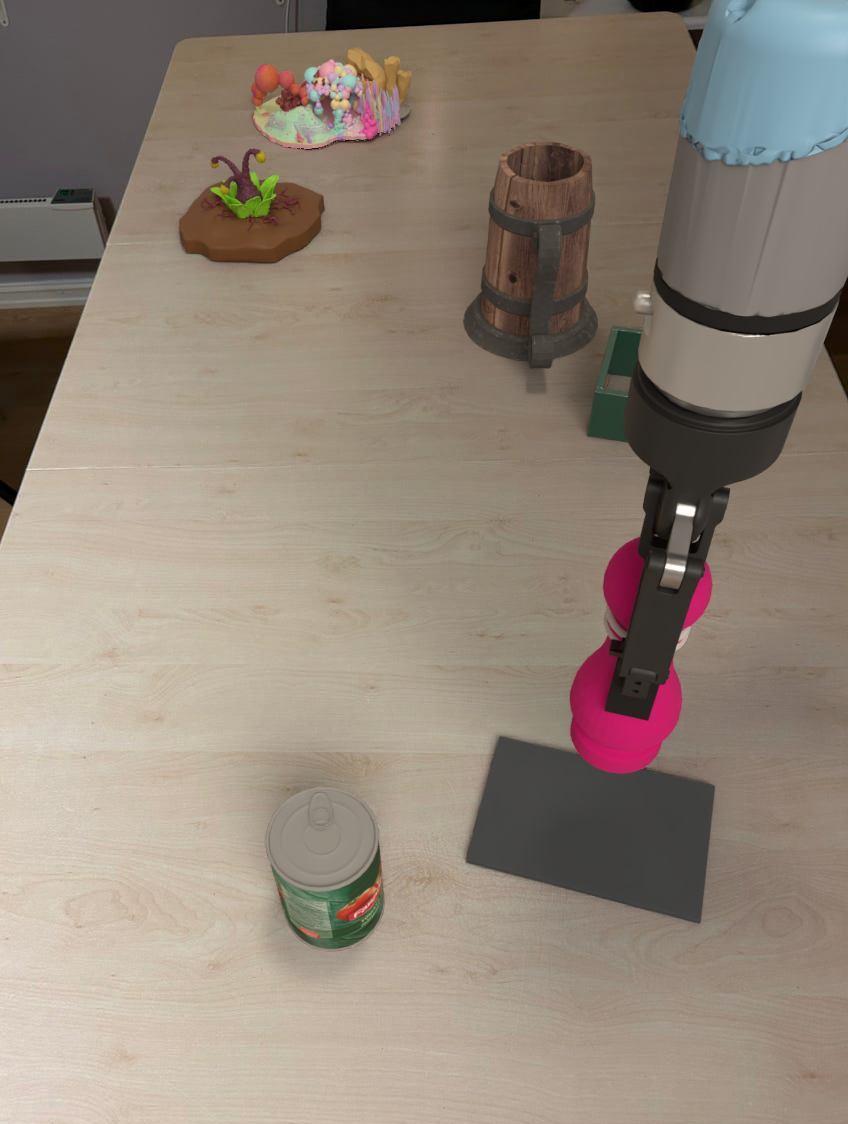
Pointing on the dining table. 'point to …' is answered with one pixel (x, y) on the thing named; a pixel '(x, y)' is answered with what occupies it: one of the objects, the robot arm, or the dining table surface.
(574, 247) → the tankard
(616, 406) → the holder
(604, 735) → the pepper mill
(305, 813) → the canned tomato
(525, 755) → the mat
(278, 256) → the plant
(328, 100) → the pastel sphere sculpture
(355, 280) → the dining table surface
